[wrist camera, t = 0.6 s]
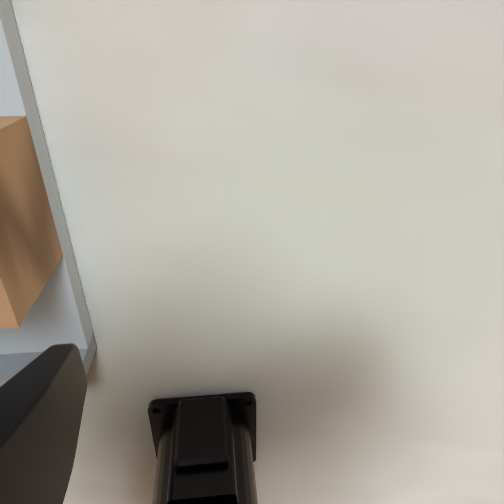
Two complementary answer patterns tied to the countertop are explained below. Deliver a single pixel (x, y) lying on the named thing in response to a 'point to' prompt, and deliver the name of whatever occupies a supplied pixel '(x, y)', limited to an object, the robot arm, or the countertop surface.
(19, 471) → the robot arm
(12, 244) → the walnut block
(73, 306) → the board
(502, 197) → the countertop surface
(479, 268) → the countertop surface
